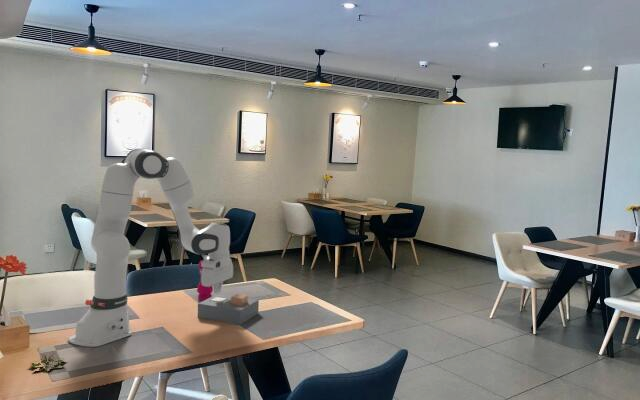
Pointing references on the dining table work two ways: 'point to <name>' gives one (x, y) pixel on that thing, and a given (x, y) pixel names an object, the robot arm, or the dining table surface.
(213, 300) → the cream plunger
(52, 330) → the dining table surface
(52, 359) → the green leafy plant
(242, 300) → the tan cube
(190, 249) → the robot arm
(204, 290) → the pepper mill
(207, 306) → the button console
